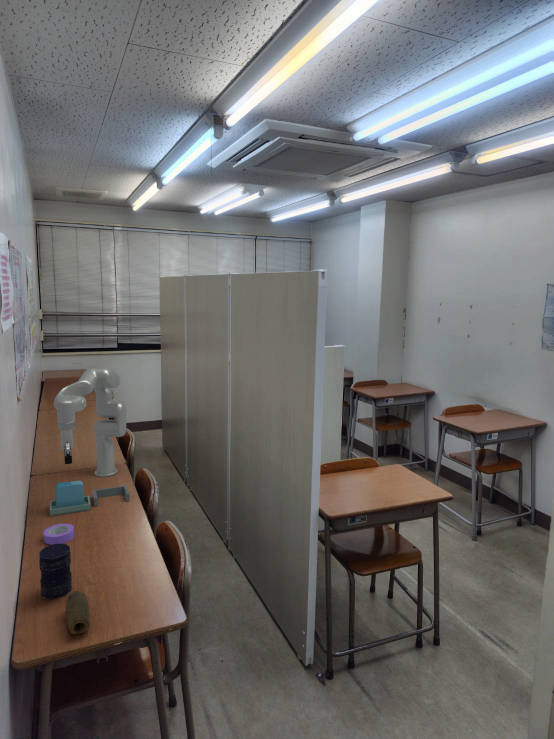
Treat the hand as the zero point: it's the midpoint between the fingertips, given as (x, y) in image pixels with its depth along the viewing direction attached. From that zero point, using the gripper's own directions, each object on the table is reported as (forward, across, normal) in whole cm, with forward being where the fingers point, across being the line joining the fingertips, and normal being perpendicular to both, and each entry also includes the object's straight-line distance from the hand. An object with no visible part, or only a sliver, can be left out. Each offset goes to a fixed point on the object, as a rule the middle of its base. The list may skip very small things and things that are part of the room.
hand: (68, 460), depth 223 cm
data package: (+24, 0, 0) cm, 24 cm away
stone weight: (+24, +87, 0) cm, 90 cm away
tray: (+24, 0, 0) cm, 24 cm away
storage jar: (+24, +67, -6) cm, 72 cm away
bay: (+24, -4, +19) cm, 31 cm away
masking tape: (+24, +28, -5) cm, 38 cm away
